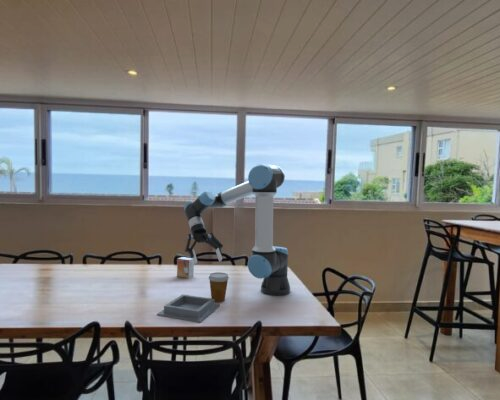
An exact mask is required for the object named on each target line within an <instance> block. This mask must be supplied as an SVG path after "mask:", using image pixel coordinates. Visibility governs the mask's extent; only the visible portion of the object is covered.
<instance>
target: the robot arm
mask: <svg viewBox="0 0 500 400" xmlns="http://www.w3.org/2000/svg"><path fill="white" fill-rule="evenodd" d="M247 178H248V179H247V181H245V182H242V183H240V184H237V185H236V186H235V185H234V186H233V187H230V188H228V189H225V190H223V191H221V192H219V193H213V192H211V191H209V190H204V191H203V192H202V193H201V194H200V195H199V196H198V197H197V198H196V199H195V200H191V201H188V202H186V203H185V204H184V206H183V210H184V213H185V216H186V219H187V224H188V225H189V229H190V232H191V234H190V233H188V235H187V236H186V238H187V241H186V245H185V250H184V252H185V253H187V254H189V256H190V257H189V258H193V261H194V265H196V264H197V263H198V258H197V255H196V252H195V249H194V248H195V246H196V245H197V243H198V244H200V243H201V244H202V243H203V244H204V243H206V244H208V245H209V246H211V247H212V248H213V249H214V250H215V254H216V256H217V259H218V261H219V263H221V262H222V260H223V257H222V254H223V253H222V252H223V251H222V248H223V247H224V244H222V243H221V242H220V241H219V240H218V239H217V238H216V236H215V235H214V233H213V232H210V233H207V229H206V227H205V226H206V225H205V223H204V220H203V218H202V214H204V212H205V211H206V210H207V209H215V208H216V209H217V208H224V207H226V206H228V205H229V204H231V203H233V202H236V201H240V200H241V199H244V198H248V197H249V196H252V195H254V196H255V202H254V203H255V214H254V216H255V218H254V220H255V221H254V222H255V224H254V226H255V227H254V228H255V229H254V230H255V231H254V233H255V234H254V235H255V236H254V246H253V247H252V248H251V256H250V257H249V259H248V261H247V269H248V271H249V273H251V275H252V277H254V278H257V279H260V280H261V279H263V280H262V282H261V286H260V291H261V293H264V294H267V295H271V296H284V295H289V294H290V292H291V286H290V282H289V278H288V268H289V250H288V248H287V247H283V246H275V245H274V196H275V195H276V194H277V189H278V188H279V187H281V186H282V185H283V184H284V182H285V178H286V177H285V172H284V170H283V169H282V168H281V167H280V166H278V165H274V164H266V163H263V164H262V163H261V164H257V165H253V167H252V168H251V169H250V171H249V172H248V177H247ZM192 239H193V240H194V241H193V243H192V245H191V241H192Z"/></svg>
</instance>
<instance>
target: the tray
mask: <svg viewBox="0 0 500 400" xmlns="http://www.w3.org/2000/svg"><path fill="white" fill-rule="evenodd" d="M214 301H215V299H211V298H210V297H201V296H197V295H196V296H195V295H189V294H181V295H180V296H178V297H176V298H174V299H173V300H171V301H170V302H168V303H167V304H165V305H163V309H162V310H161V311H159V312H157V313H156V315H157V316H159V317H160V316H161V317H165V318H166V317H167V318H172V319H178V320H182V321H191V322H196V323H202V322H203V321H204V320H205V319H207V318H208V317H209V316H210V315H211V314H213V313H214V312H215V311H216V310H217V309H218V308H219V307H221V304H220V303H215V302H214Z"/></svg>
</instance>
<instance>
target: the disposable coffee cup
mask: <svg viewBox="0 0 500 400" xmlns="http://www.w3.org/2000/svg"><path fill="white" fill-rule="evenodd" d="M229 279H230V277H229V275H228V273H225V272H211V273H210V274H209V276H208V280H209V286H210V287H209V289H210V297H211V299H215V301H214V303H222V302H224V301H225V300H226V294H227V288H228V280H229Z"/></svg>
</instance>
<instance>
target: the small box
mask: <svg viewBox="0 0 500 400" xmlns="http://www.w3.org/2000/svg"><path fill="white" fill-rule="evenodd" d="M176 267H177V268H176V270H177V271H176V276H177V277H180V278H186V279H190V278H192V277H194V272H195V271H194V270H195V269H194V268H195V264H194V261H193V258H191V257H184V256H181V257H178V258H177V266H176Z"/></svg>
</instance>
